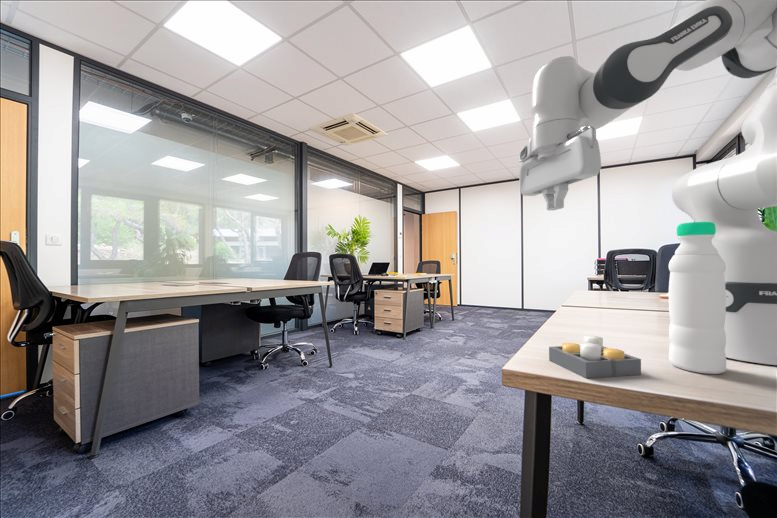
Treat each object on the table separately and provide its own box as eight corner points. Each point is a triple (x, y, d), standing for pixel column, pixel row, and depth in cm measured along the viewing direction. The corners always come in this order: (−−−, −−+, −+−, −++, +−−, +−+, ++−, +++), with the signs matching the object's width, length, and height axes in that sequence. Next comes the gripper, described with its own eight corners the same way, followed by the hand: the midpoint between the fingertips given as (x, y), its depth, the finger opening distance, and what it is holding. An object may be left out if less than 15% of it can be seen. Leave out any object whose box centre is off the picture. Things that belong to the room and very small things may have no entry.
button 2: (591, 358, 54) (591, 342, 54) (605, 363, 51) (605, 347, 51) (576, 359, 54) (576, 343, 54) (589, 364, 51) (589, 348, 51)
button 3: (594, 349, 59) (593, 335, 59) (606, 354, 56) (606, 339, 56) (580, 350, 59) (580, 335, 59) (592, 354, 56) (592, 339, 56)
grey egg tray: (596, 357, 60) (596, 344, 60) (641, 374, 51) (640, 359, 51) (549, 360, 59) (549, 346, 59) (586, 378, 50) (586, 362, 50)
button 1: (572, 356, 59) (572, 342, 59) (584, 361, 56) (584, 346, 56) (558, 357, 58) (558, 343, 58) (570, 362, 55) (569, 347, 55)
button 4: (614, 363, 55) (613, 347, 55) (629, 369, 52) (628, 352, 52) (599, 364, 55) (599, 348, 55) (613, 370, 52) (613, 353, 52)
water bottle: (700, 361, 57) (699, 224, 57) (739, 376, 50) (738, 219, 50) (658, 360, 58) (657, 225, 58) (691, 374, 51) (690, 220, 51)
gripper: (610, 121, 55) (611, 200, 55) (538, 158, 75) (539, 216, 75) (578, 119, 54) (578, 199, 54) (514, 157, 74) (514, 215, 74)
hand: (555, 209), depth 65 cm, fingers closed
